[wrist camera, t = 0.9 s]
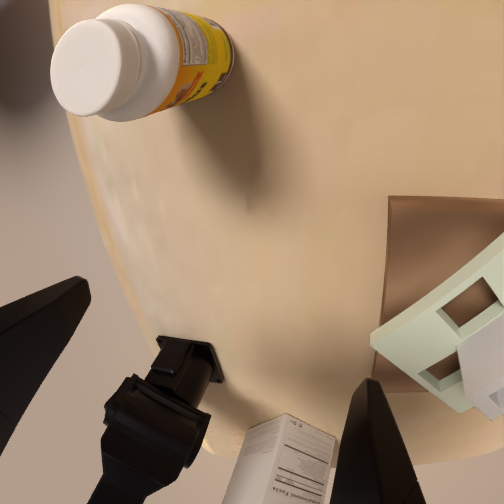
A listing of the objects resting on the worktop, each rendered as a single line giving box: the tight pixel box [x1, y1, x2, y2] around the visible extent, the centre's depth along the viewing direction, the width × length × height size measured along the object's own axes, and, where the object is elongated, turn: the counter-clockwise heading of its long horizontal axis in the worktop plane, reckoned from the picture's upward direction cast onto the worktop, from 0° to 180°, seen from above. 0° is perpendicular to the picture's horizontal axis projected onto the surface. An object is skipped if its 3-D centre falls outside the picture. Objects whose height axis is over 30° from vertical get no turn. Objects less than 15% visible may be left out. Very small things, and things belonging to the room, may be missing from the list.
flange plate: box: [370, 232, 504, 421], centre depth 16 cm, size 14×14×6 cm
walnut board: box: [371, 196, 504, 392], centre depth 18 cm, size 18×18×7 cm
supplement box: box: [222, 414, 336, 504], centre depth 32 cm, size 9×9×15 cm
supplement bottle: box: [50, 4, 234, 122], centre depth 13 cm, size 6×6×10 cm
